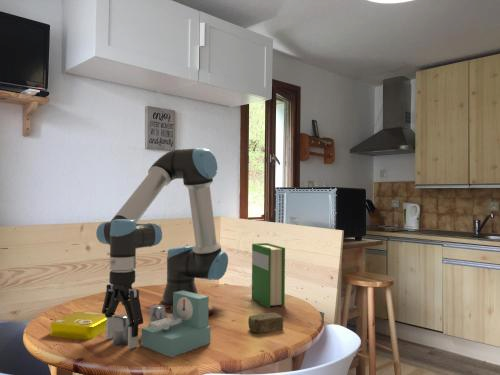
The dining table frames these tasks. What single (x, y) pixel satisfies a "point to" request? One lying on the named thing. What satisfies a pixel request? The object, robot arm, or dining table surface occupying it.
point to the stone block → (265, 322)
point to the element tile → (79, 325)
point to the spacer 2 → (157, 312)
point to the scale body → (181, 326)
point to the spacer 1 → (120, 330)
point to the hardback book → (268, 274)
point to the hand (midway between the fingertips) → (121, 342)
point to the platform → (165, 323)
